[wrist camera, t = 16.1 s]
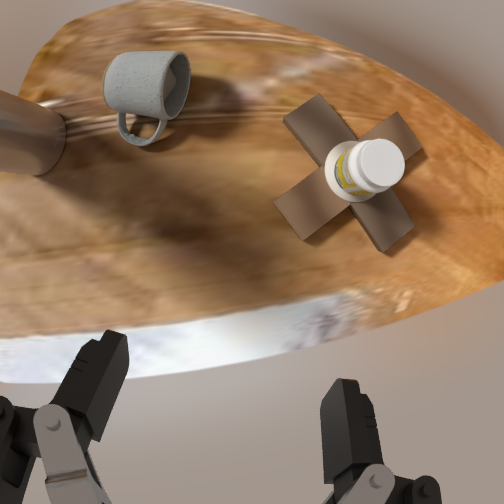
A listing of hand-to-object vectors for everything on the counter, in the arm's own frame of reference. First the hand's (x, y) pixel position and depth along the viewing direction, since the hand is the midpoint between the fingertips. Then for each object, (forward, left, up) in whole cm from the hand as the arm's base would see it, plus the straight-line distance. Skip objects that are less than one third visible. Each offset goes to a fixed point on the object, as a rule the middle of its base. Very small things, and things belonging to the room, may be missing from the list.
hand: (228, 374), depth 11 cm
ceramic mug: (-14, +17, -24) cm, 33 cm away
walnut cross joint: (+10, +11, -24) cm, 28 cm away
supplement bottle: (+10, +11, -22) cm, 27 cm away
